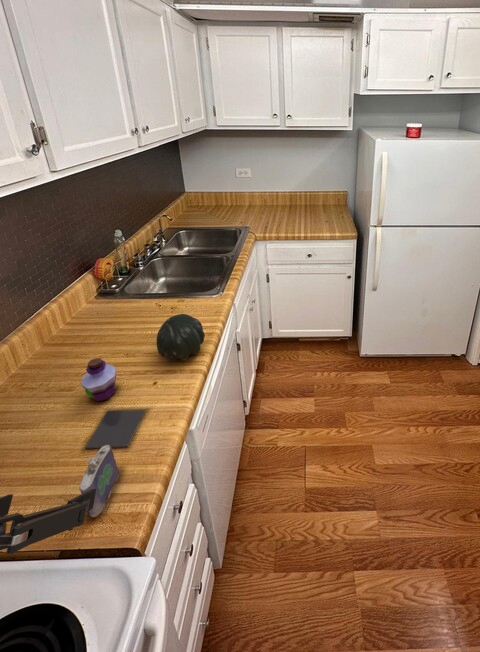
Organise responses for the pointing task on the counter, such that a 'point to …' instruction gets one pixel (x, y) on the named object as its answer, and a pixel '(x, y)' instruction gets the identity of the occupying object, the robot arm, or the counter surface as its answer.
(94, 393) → the potion bottle
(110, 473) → the flask
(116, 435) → the slate coaster
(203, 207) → the counter surface
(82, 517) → the robot arm
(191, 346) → the squash
